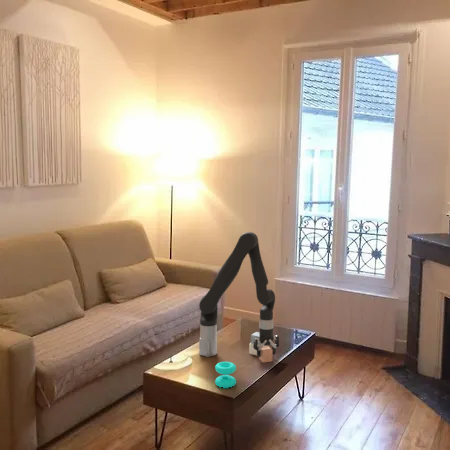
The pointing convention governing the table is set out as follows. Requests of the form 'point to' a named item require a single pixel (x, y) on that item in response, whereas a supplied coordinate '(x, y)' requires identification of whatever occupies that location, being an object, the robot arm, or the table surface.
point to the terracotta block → (266, 354)
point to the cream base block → (252, 349)
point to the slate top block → (254, 335)
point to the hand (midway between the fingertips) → (266, 355)
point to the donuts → (225, 369)
